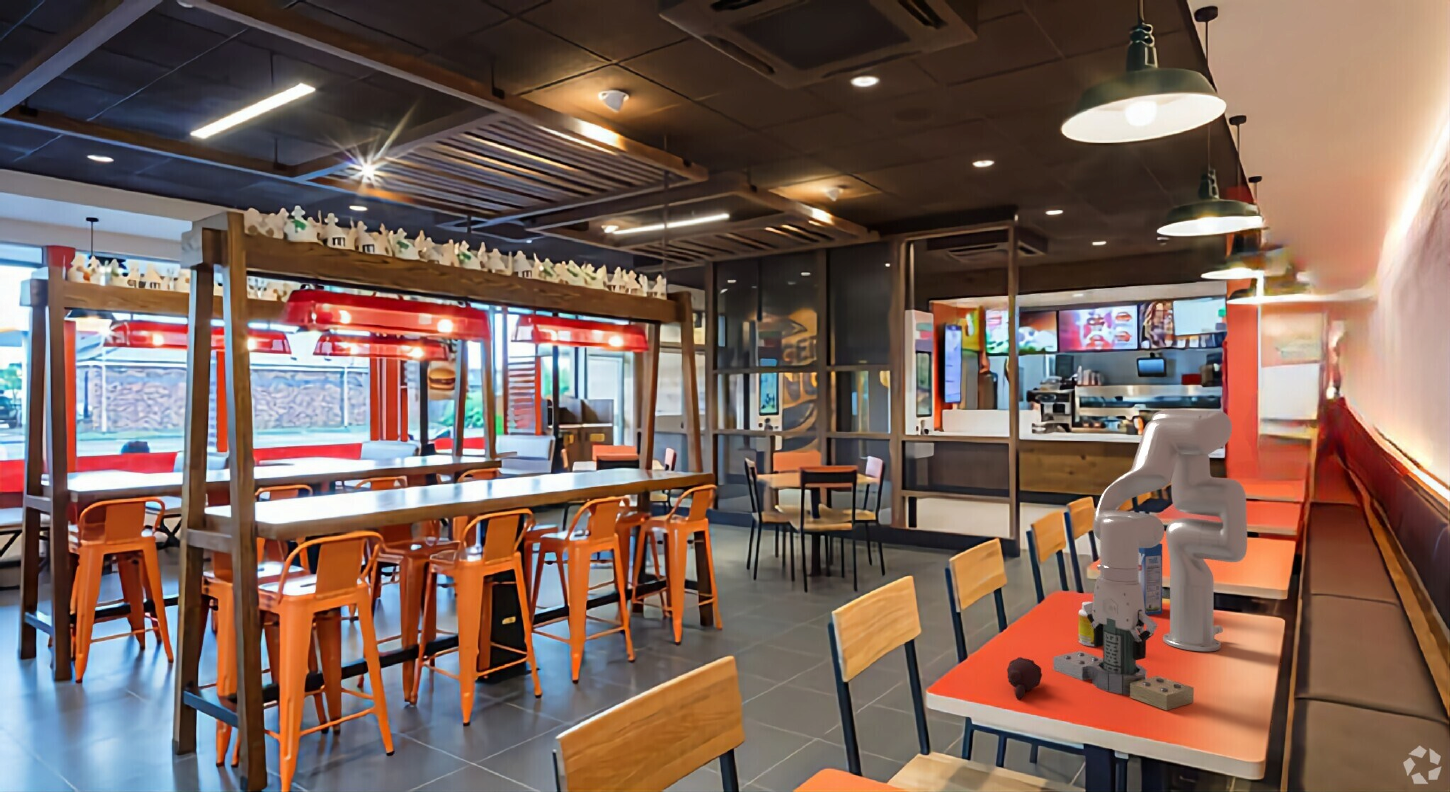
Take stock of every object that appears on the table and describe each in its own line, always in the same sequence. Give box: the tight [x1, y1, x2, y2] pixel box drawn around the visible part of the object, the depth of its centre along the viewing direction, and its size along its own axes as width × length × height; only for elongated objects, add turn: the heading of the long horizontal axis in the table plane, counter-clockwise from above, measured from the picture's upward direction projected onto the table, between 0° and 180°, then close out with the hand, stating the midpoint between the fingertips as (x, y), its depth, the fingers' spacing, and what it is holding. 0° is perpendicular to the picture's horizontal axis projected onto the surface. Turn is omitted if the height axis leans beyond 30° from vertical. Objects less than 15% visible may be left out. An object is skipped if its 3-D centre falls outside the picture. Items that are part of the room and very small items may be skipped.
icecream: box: [1006, 656, 1043, 700], centre depth 179 cm, size 7×7×15 cm
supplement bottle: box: [1078, 601, 1096, 648], centre depth 209 cm, size 6×6×10 cm
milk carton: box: [1139, 542, 1163, 616], centre depth 240 cm, size 10×6×20 cm, turn 16°
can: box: [1102, 618, 1137, 674], centre depth 180 cm, size 6×6×15 cm
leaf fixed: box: [1052, 650, 1148, 696], centre depth 184 cm, size 10×19×4 cm, turn 27°
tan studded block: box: [1129, 675, 1195, 711], centre depth 172 cm, size 9×8×3 cm
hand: (1119, 652), depth 180 cm, fingers open, 9 cm apart
